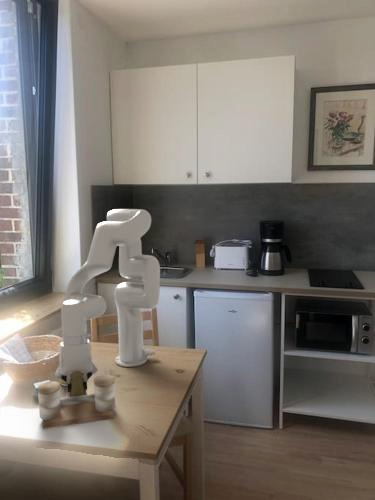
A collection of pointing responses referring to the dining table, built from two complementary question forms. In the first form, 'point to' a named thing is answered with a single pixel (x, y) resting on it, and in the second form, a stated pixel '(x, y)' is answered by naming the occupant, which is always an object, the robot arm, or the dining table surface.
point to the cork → (77, 384)
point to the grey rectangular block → (37, 388)
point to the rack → (76, 403)
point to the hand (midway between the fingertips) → (77, 392)
